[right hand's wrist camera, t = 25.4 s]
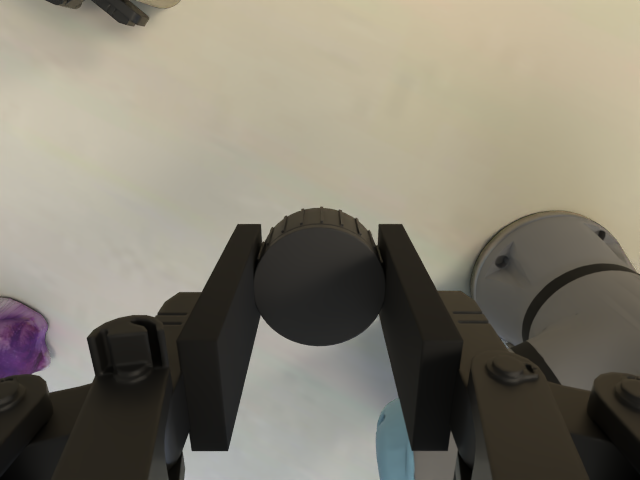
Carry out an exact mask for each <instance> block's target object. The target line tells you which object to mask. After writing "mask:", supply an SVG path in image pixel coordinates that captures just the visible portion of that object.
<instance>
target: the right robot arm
mask: <svg viewBox="0 0 640 480" xmlns="http://www.w3.org/2000/svg"><path fill="white" fill-rule="evenodd" d="M261 245H262V236H261V224H238V225H237V226H236V228H235V230H234V232H233V234H232V236H231V238H230V240H229V242H228V243H227V245H226V247H225V249H224V251H223V253H222V255H221V257H220V259H219V261H218V262H217V264H216V266H215V268H214V270H213V272H212V274H211V276H210V278H209V279H208V281H207V283H206V285H205V287H204V289H203V291H202V292H179V293H177V294H176V295H175V296H173V297H172V298H170V299H169V300H167V301H166V302H165V303H164V304H163V306H162V307H161V309H160V310H159V312H158V315H156V316H155V317H151V316H147V315H132V316H126V317H121V318H117V319H114V320H112V321H109V322H106V323H104V324H103V325H101V326H99V327H98V328H96V329H95V330H93V331H92V333H91V334H90V335H89V336H88V337H87V341H88V345H89V350H90V354H91V358H92V363H93V367H94V371H95V378H94V380H93V383H91V384H87V385H83V386H80V387H75V388H70V389H65V390H61V391H56V392H51V393H49V391H48V387H47V384H46V381H45V380H44V379H42V378H41V377H40V376H36V375H31V374H22V375H13V376H8V377H6V378H1V379H0V480H184V474H185V465H184V458H183V452H182V450H183V447H184V444H185V442H186V439H187V436H188V433H189V435H190V442H191V449H192V451H228V449H229V445H230V441H231V436H232V432H233V428H234V424H235V420H236V416H237V411H238V407H239V403H240V399H241V395H242V391H243V386H244V382H245V378H246V374H247V370H248V366H249V361H250V357H251V353H252V349H253V345H254V341H255V336H256V332H257V328H258V324H259V320H260V316H261V314H260V312H259V311H258V308H257V306H256V303H255V293H254V273H255V270H256V267H257V264H258V261H256V260H257V257H258V254H259V251H260V248H261ZM378 248H379V251H380V254H381V257H382V260H383V263H384V265H382V267H383V270H384V274H385V278H386V287H385V300H384V303H383V306H382V308H381V310H380V312H379V317H380V321H381V325H382V329H383V333H384V338H385V342H386V346H387V350H388V354H389V358H390V363H391V367H392V371H393V375H394V379H395V383H396V388H397V392H398V396H399V398H397V399H395V400H393V401H391V402H390V403H389V404H387V405H386V406H385V408H384V409H383V410H382V412H381V414H380V416H379V420H378V423H377V432H376V454H377V463H378V470H379V476H380V480H640V274H638V273H637V272H636V271H635V269H634V267H633V266H632V264H631V262H630V261H629V259H628V257H627V256H626V254H625V253H624V251H623V249H622V248H621V246H620V244H619V243H618V241H617V240H616V239H615V238H614V237H613V236H612V235H611V234H610V233H609V232H608V231H607V230H606V229H605V228H604V227H602V226H601V225H599V224H598V223H596V222H594V221H592V220H591V219H589V218H587V217H585V216H582V215H580V214H576V213H572V212H566V211H547V212H541V213H536V214H533V215H529V216H527V217H524V218H522V219H519V220H517V221H515V222H513V223H512V224H510V225H509V226H507V227H505V228H504V229H503V230H501V231H500V232H499V233H498V234H497V235H495V236H494V237H493V238H492V239H491V240H490V241H489V243H488V244H487V245H486V246H485V248H484V249H483V251H482V252H481V254H480V255H479V257H478V259H477V261H476V263H475V266H474V269H473V272H472V277H471V297H472V298H470V297H469V296H467V295H466V294H464V293H463V292H461V291H437V290H436V288H435V286H434V284H433V282H432V280H431V278H430V276H429V274H428V272H427V271H426V269H425V267H424V265H423V263H422V261H421V259H420V257H419V255H418V254H417V252H416V250H415V248H414V246H413V244H412V242H411V240H410V238H409V236H408V235H407V233H406V231H405V229H404V227H403V225H402V224H379V230H378ZM500 338H501V339H503V340H505V341H507V342H509V343H506V344H507V346H508V347H509V348H508V349H507V348H506V346H505V345H504V343H503V342H502V340H501V339H500Z"/></svg>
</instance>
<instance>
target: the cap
mask: <svg viewBox="0 0 640 480" xmlns="http://www.w3.org/2000/svg"><path fill="white" fill-rule="evenodd" d="M256 261H258V264H257V267H256V270H255V273H254V293H255V303H256V306H257V308H258V311H259V312H260V314H261V316H262V317H263V319H264V320H265V321H266V323H267V324H268V325H269V326H270V327H271V328H272V329H273V330H275V331H276V332H277V333H278V334H280V335H282V336H283V337H285V338H287V339H289V340H291V341H294V342H297V343H300V344H304V345H310V346H329V345H335V344H339V343H342V342H345V341H348V340H350V339H352V338H354V337H356V336H357V335H359V334H360V333H362V332H363V331H364V330H366V329H367V328H368V327H369V326H370V325H371V324H372V323H373V321H374V320H375V319H376V317H377V316H378V314H379V312H380V310H381V308H382V306H383V303H384V300H385V287H386V278H385V274H384V270H383V267H382V265H384V263H383V260H382V257H381V254H380V251H379V248H378V245H375V242H374V240H373V238H372V235H371V232H370V230H369V231H367V229H366V228H365V227H364V226H363V225H362V224H361V223H360V222H359V221H358V219H357V218H355V219H354V218H353V217H351V216H349V215H348V214H346V213H343V212H342V210H339V211H338V210H333V209H327V208H323V207H320V208H312V209H305V210H304V209H301V211H299V212H296V213H294V214H291V215H289V216H288V217H287V216H285V217H284V219H283V220H282V221H281V222H279V223H278V224H277V225H276V226H275V227H274V228H273V227H272V228H271V230H270V233H269V235H268V237H267V238H266V240H265V242H262V245H261V248H260V251H259V254H258V257H257V260H256Z"/></svg>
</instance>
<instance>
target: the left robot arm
mask: <svg viewBox="0 0 640 480" xmlns="http://www.w3.org/2000/svg"><path fill="white" fill-rule="evenodd" d="M46 1H48V2H50V3H52V4H55V5H59V6H64V7H68V8H73V9H78V8H79V7H80V6H81V5H82V2H83V1H84V0H46ZM92 1H93V2H94V3H96V4H97V5H98V6H99V7H100V8H102V9H103V10H104V11H105V12H107V13H108V14H109V15H110V16H112V17H113V18H114V19H115V20H116V21H118V22H119V23H122V24H125V25H129V26H134V25H135V24H136V25H140V26H145V25H146V23H147V21H148V20H149V17H148V16H147V15H146V14H145V13H144V12H142V11H141V10H140V9H139V8H138V7H136V6H135V5H134V4H133V3H131V2H130V1H129V0H92Z"/></svg>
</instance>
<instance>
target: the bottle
mask: <svg viewBox="0 0 640 480" xmlns="http://www.w3.org/2000/svg"><path fill="white" fill-rule="evenodd" d="M136 1H139V2H142V3H145V4H148V5H151V6H154V7H157V8H169V7H172V6H174V5H176V4H177V3H178V2H179V1H180V0H136Z"/></svg>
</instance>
